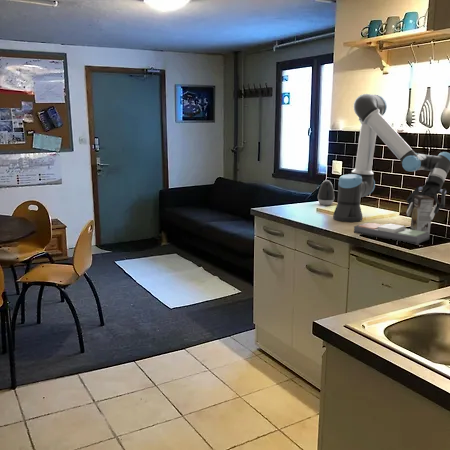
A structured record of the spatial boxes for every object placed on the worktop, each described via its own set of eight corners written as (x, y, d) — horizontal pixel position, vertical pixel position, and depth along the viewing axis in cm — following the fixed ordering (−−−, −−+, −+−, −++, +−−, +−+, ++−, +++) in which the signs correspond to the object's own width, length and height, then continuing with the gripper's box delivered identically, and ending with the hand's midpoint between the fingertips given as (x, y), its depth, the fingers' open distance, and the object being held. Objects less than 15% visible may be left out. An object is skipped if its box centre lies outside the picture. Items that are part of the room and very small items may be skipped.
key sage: (397, 237, 217) (397, 232, 216) (407, 233, 224) (408, 229, 224) (415, 240, 211) (415, 235, 211) (425, 236, 219) (425, 231, 219)
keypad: (353, 232, 230) (354, 226, 229) (367, 228, 239) (368, 222, 239) (416, 244, 210) (417, 237, 209) (429, 239, 219) (429, 232, 219)
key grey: (377, 231, 223) (377, 226, 222) (388, 227, 231) (388, 223, 230) (394, 234, 217) (394, 229, 217) (404, 230, 225) (405, 225, 225)
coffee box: (409, 227, 235) (413, 194, 232) (423, 228, 235) (427, 194, 232) (416, 232, 226) (419, 197, 223) (430, 232, 226) (434, 198, 223)
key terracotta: (358, 230, 229) (358, 225, 229) (369, 226, 237) (369, 222, 237) (373, 233, 224) (374, 228, 224) (384, 229, 232) (385, 225, 231)
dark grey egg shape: (317, 205, 300) (318, 180, 297) (317, 202, 310) (318, 178, 307) (334, 206, 298) (336, 181, 295) (333, 203, 308) (335, 179, 305)
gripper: (461, 187, 230) (445, 225, 222) (414, 182, 245) (397, 217, 237) (459, 177, 225) (442, 215, 217) (410, 172, 240) (393, 208, 232)
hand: (419, 216), depth 227 cm, fingers closed on coffee box, 10 cm apart
